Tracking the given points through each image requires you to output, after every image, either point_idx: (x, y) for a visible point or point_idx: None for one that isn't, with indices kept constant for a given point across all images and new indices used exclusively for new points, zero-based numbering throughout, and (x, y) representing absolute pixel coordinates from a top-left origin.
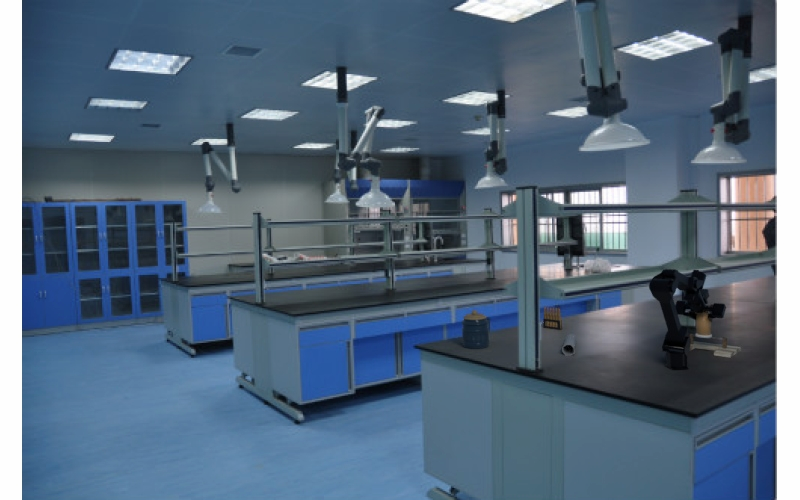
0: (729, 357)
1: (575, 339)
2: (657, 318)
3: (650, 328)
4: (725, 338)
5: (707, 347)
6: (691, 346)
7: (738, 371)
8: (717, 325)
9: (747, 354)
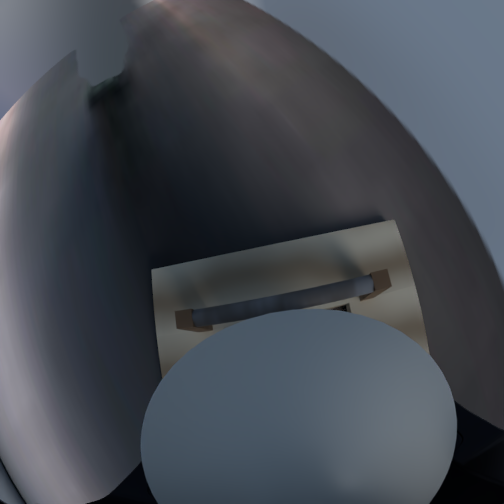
0: None
1: (2, 484)
2: (51, 95)
3: (36, 170)
4: (390, 286)
5: None
6: None
7: None
8: (162, 43)
9: (437, 267)
